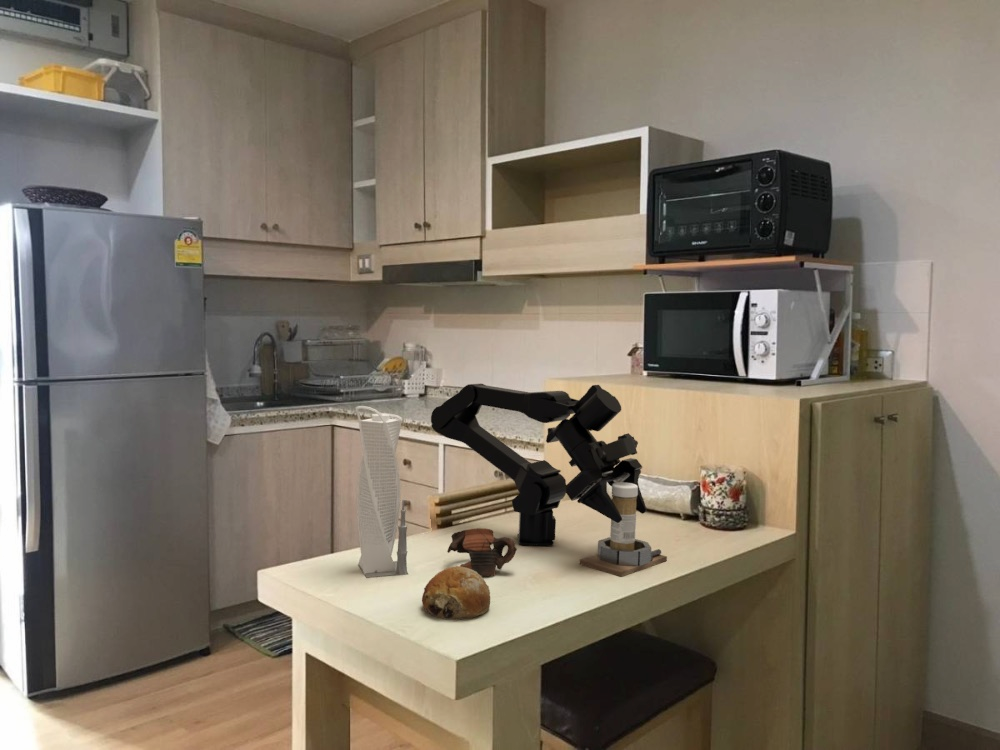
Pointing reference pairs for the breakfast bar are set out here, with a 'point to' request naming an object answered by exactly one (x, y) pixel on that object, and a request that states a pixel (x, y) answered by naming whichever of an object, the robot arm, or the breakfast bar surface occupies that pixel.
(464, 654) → the breakfast bar surface
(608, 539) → the collar
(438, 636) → the breakfast bar surface
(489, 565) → the pottery mug
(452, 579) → the bread roll
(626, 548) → the sprinkles bottle
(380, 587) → the breakfast bar surface
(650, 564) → the walnut board
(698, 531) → the breakfast bar surface
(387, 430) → the skyscraper
